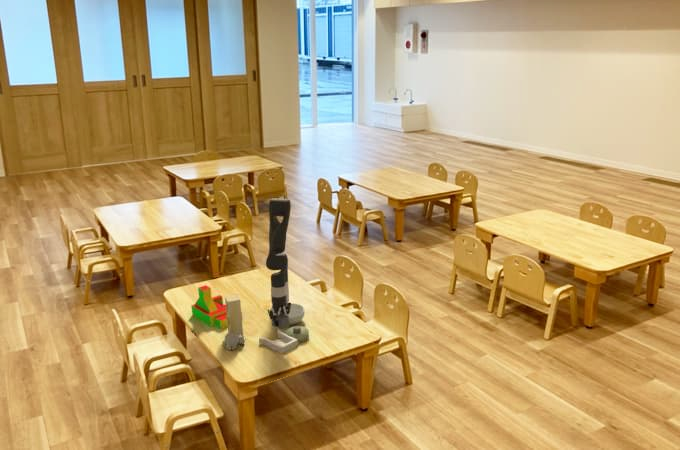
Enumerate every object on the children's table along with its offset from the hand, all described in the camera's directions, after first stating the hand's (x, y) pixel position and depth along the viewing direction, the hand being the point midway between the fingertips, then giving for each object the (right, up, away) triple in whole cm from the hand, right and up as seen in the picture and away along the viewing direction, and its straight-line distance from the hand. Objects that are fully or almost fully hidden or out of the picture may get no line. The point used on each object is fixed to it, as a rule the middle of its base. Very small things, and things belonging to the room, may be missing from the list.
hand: (280, 324), depth 305 cm
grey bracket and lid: (+2, -9, +8) cm, 13 cm away
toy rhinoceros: (-23, -12, +3) cm, 26 cm away
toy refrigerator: (-26, -8, +15) cm, 31 cm away
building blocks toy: (-38, -2, +35) cm, 51 cm away
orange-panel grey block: (0, -1, 0) cm, 1 cm away
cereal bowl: (+2, -3, +28) cm, 28 cm away
